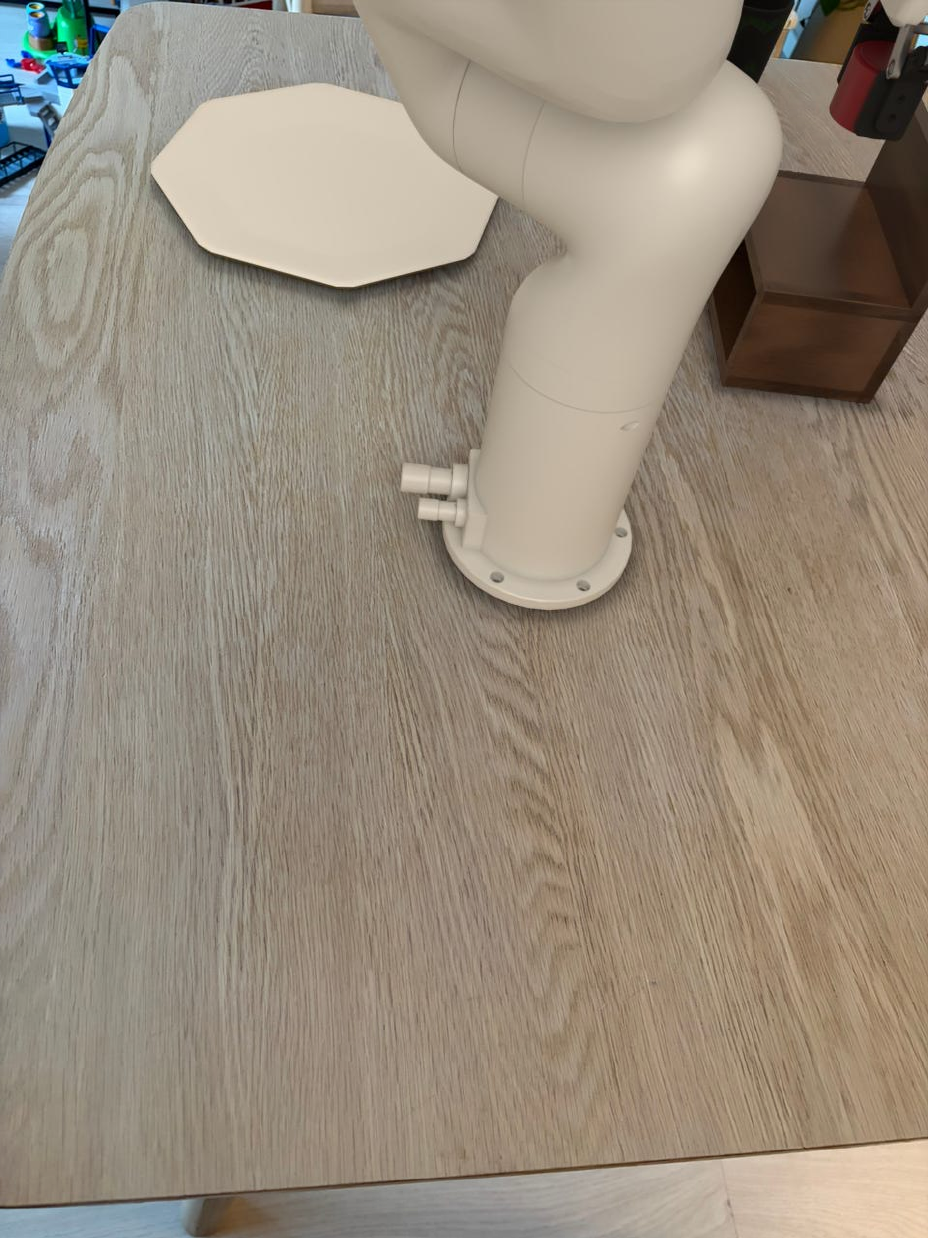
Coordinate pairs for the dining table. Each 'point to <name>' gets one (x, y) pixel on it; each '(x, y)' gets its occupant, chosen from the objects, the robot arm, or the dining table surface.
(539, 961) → the dining table surface
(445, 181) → the plate
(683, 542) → the dining table surface
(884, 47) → the cap
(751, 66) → the cup
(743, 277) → the shelf
